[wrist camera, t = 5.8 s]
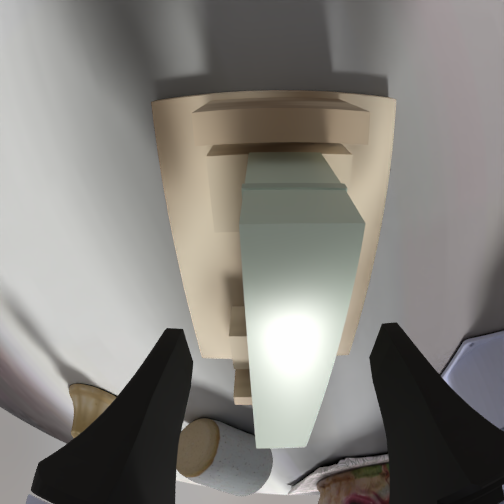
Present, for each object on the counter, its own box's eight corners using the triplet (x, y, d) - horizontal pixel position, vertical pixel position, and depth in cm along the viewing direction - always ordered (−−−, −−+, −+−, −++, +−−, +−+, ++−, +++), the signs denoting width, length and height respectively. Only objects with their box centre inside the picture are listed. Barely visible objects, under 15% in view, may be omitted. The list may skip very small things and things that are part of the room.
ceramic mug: (217, 406, 25) (209, 481, 19) (274, 430, 29) (273, 494, 22) (159, 424, 30) (147, 482, 24) (212, 446, 33) (206, 497, 27)
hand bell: (87, 411, 30) (58, 517, 17) (57, 376, 25) (14, 499, 12) (145, 424, 30) (122, 541, 17) (121, 390, 25) (85, 535, 12)
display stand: (388, 97, 11) (442, 114, 7) (346, 345, 20) (358, 400, 16) (157, 100, 11) (110, 117, 8) (203, 349, 20) (194, 404, 17)
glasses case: (321, 151, 10) (368, 220, 5) (300, 368, 16) (306, 447, 12) (247, 151, 10) (236, 222, 6) (257, 369, 16) (255, 448, 12)
